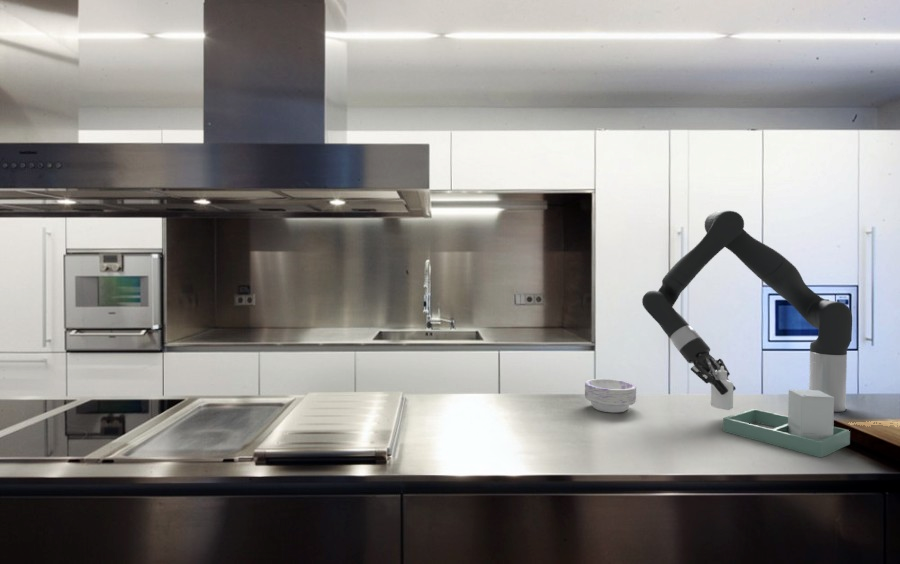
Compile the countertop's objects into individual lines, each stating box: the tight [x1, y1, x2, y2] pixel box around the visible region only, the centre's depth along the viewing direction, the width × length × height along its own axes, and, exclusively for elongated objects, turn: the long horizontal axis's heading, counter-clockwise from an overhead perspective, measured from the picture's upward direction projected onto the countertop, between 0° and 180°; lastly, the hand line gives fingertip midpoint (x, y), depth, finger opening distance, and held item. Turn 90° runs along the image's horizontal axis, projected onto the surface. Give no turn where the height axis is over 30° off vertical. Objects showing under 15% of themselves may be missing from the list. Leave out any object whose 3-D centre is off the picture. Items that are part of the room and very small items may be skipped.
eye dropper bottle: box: [710, 366, 734, 411], centre depth 150 cm, size 4×6×12 cm
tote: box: [722, 408, 851, 458], centre depth 134 cm, size 16×23×4 cm
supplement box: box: [787, 389, 835, 441], centre depth 129 cm, size 7×7×13 cm
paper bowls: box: [584, 378, 637, 414], centre depth 161 cm, size 15×15×8 cm
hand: (729, 391), depth 148 cm, fingers closed on eye dropper bottle, 3 cm apart
